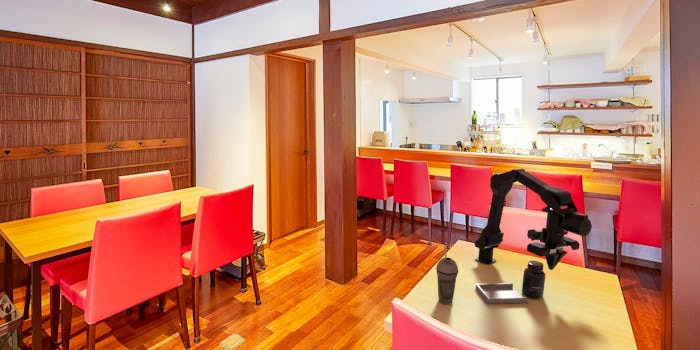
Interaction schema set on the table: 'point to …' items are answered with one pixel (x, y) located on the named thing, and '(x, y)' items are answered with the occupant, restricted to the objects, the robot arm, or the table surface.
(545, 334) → the table surface
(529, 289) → the supplement bottle
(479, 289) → the tray
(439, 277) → the beverage cup
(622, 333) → the table surface
